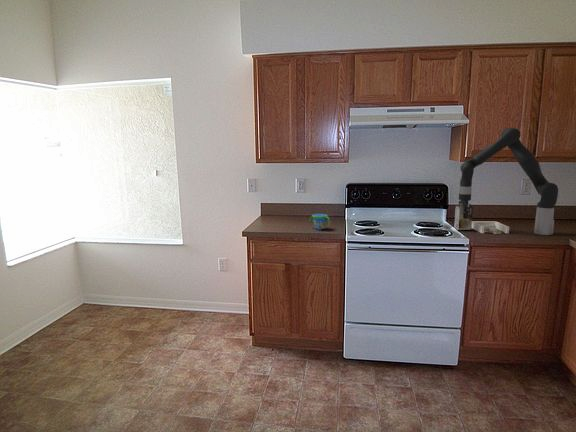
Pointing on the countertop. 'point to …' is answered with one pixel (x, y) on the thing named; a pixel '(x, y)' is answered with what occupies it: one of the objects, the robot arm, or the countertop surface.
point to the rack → (481, 225)
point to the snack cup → (319, 221)
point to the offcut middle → (493, 231)
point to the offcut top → (492, 228)
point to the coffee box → (462, 218)
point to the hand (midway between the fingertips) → (463, 217)
